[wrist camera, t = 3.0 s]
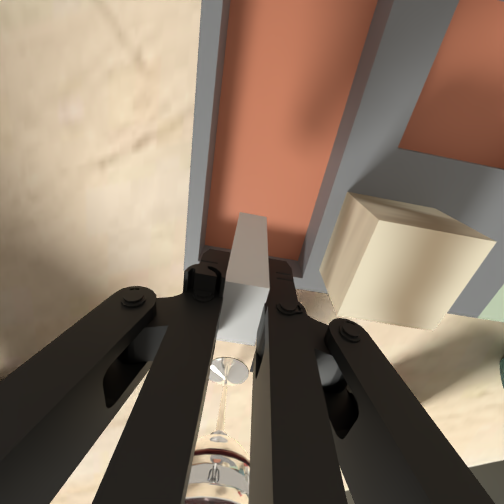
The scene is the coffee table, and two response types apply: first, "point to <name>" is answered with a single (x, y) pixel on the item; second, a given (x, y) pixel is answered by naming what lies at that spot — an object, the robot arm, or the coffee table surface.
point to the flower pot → (502, 371)
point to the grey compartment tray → (348, 124)
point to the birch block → (399, 261)
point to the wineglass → (220, 450)
